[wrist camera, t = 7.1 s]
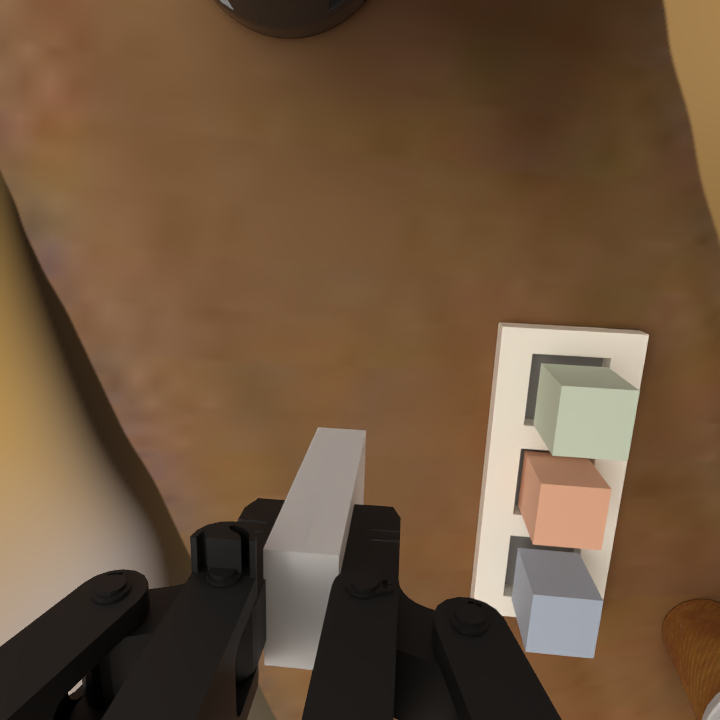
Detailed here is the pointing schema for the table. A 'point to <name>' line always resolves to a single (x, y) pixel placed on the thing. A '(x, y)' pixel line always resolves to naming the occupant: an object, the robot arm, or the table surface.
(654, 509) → the table surface
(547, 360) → the board
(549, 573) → the slate block
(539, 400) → the sage block
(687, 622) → the disposable coffee cup
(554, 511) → the terracotta block
